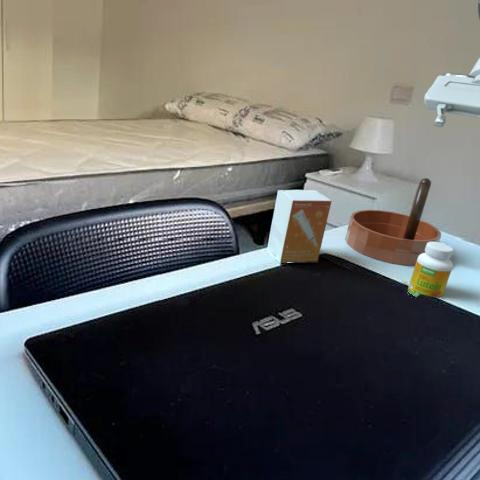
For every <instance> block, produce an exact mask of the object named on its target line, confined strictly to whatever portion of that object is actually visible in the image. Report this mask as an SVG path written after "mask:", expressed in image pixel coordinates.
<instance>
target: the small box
mask: <svg viewBox="0 0 480 480" xmlns="http://www.w3.org/2000/svg"><path fill="white" fill-rule="evenodd" d="M274 205H275V206H274V210H273V215H272V219H271V220H272V221H271V225H270V231H269V238H268V242H267V249H266V252H267V253H268V254H269V255H270V256H271V257H272V258H273V259H274V260H275V261H276V260H277V261H278V262H279V263H287V262H305V261H317V262H318V261H319V257H320V252H321V247H322V243H323V239H324V237H325V236H324V235H325V231H326V228H327V227H326V226H327V224H328V223H327V222H328V219H329V213H330V209H331V205H332V200H331V199H330V198H329V197H327V196H326V195H324V194H322V193H321V192H319V191H318V190H316V189H277V195H276V199H275V204H274ZM277 261H276V262H277ZM278 262H277V263H278ZM279 263H278V264H279Z"/></svg>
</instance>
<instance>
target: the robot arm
mask: <svg viewBox="0 0 480 480" xmlns="http://www.w3.org/2000/svg"><path fill="white" fill-rule="evenodd" d="M477 14H478V18H479V20H480V0H478V2H477ZM423 103H424V107H425V109H426V110H429V111H436V115H437V116H436V118H435V119H434V127H439V128H444V125H445V124H446V122H447V118H446V115H445V114H446V113H447V114H454V115H460V116H466V117H472V118H478V119H480V57H478V59H477V61H476V62H475V64H474V66H473V67H472V69H471V71H470V72H469V74H463V73H453V72H446V73H445V74H441V75H438V76H437V77H436V79H435V80H434V82H433V83H432V85H431V86H430V87H429V88H428V89H427V91H426V92H425V94H424V97H423Z"/></svg>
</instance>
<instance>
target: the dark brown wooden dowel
mask: <svg viewBox="0 0 480 480" xmlns="http://www.w3.org/2000/svg"><path fill="white" fill-rule="evenodd" d="M431 185H432V180H431V179H429V178H426V177H425V178H422V179H420V181H419V184H418V187H417V190H416V193H415V197H414V199H413V200H414V201H413V204H412V207H411V210H410V213H409V216H410V217H409V220H408V224H407V227H406V231H405V234H404V237H403V239H409V240H414V239H415V235H416V232H417V229H418V226H419V222H420V220H422V219H421V218H422V215H423V212H424V209H425V206H426V203H427V199H428V195H429V192H430V189H431Z"/></svg>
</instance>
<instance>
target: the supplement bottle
mask: <svg viewBox="0 0 480 480" xmlns="http://www.w3.org/2000/svg"><path fill="white" fill-rule="evenodd" d="M425 252H426V253H422V254H420V255H419V256H418V259H417V261H416V264H415V266H414V268H413V272H412V275H411V277H410V281H409V283H408V286H407V291H408V292H409V293H410V294H412V295H413V296H415V297H416V298H418V297H419V296H420V295H422V296H426V297H431V298H439V297H443V295H444V293H445V290H446V287H447V284H448V281H449V278H450V275H451V273H452V270H453V267H454V265H453V262H452V260H451V257H452V255H453V253H454V248H453V247H452V246H451V245H449V244H446V243H443V242H440V241H439V242H428V243H427V245H426V248H425ZM408 292H407V293H408Z"/></svg>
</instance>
